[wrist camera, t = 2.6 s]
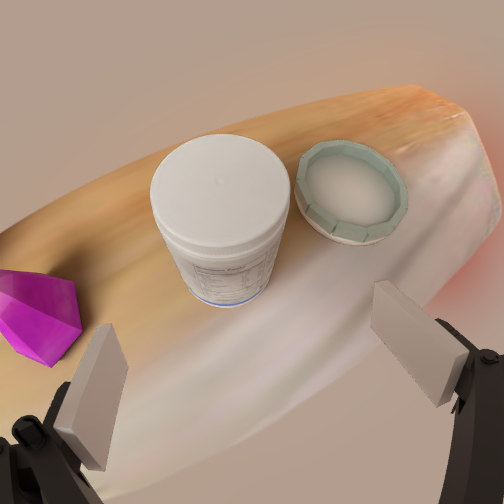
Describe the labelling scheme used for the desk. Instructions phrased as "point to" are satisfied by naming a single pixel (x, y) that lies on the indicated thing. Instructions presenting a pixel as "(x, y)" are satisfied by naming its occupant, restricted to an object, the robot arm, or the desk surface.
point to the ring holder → (349, 192)
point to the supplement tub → (222, 215)
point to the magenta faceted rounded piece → (38, 314)
